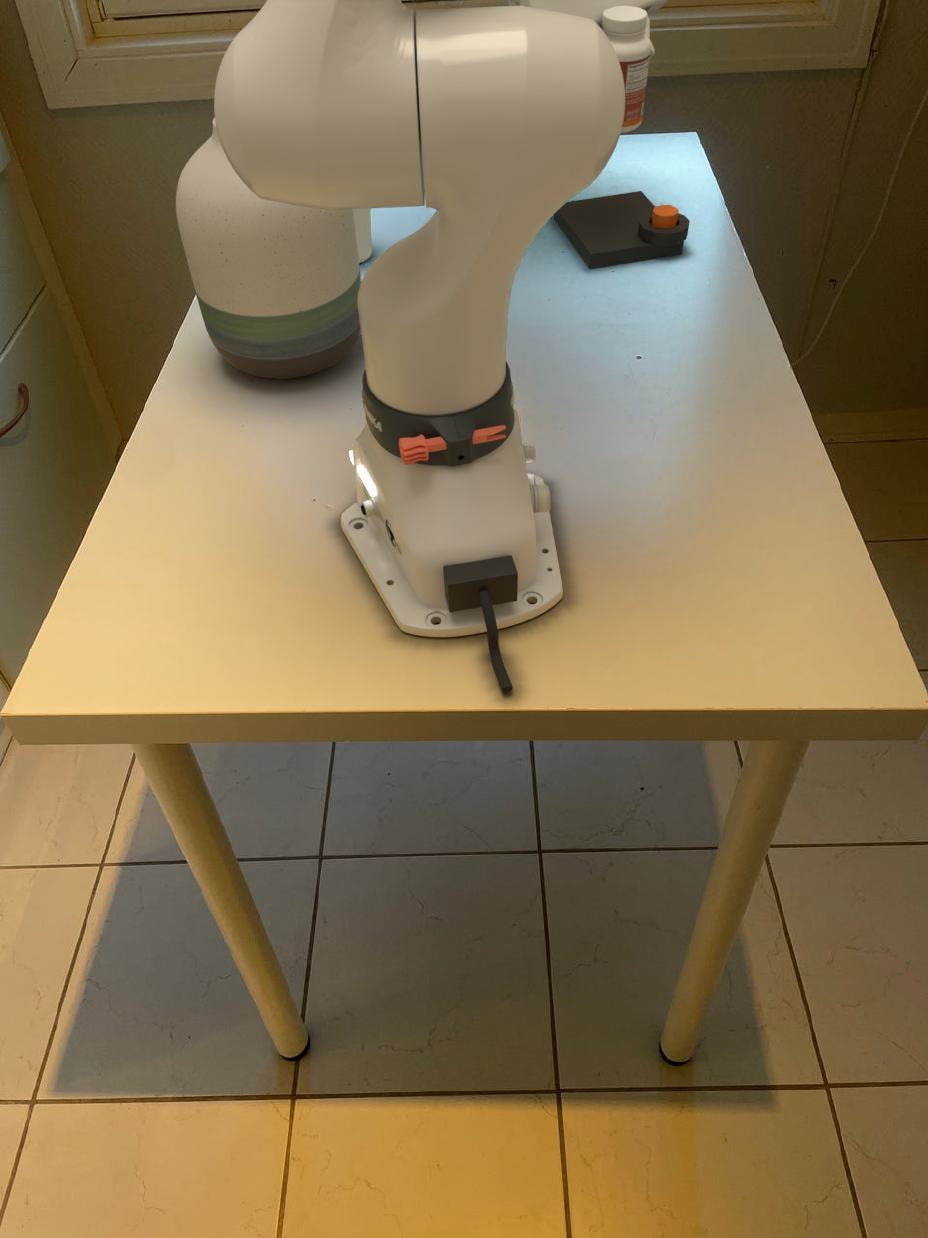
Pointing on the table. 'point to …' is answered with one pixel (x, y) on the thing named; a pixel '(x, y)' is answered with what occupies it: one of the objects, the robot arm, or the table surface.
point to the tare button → (664, 216)
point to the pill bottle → (630, 57)
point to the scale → (618, 230)
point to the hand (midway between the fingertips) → (624, 68)
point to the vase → (267, 271)
